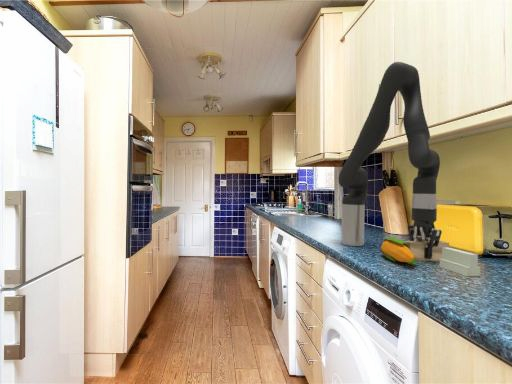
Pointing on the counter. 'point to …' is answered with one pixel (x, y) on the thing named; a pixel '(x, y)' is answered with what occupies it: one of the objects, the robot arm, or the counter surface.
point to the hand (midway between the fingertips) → (423, 256)
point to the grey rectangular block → (460, 262)
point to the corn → (397, 251)
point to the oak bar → (418, 250)
